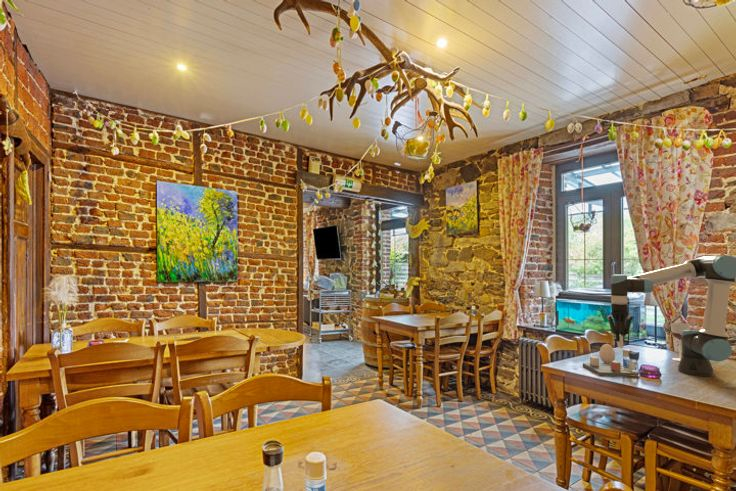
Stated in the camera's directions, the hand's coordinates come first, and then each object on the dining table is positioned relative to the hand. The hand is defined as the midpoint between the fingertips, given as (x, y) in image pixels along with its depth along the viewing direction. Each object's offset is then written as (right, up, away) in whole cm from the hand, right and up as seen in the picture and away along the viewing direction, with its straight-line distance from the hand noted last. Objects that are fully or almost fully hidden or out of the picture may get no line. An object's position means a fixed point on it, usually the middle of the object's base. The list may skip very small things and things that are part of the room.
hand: (620, 347), depth 213 cm
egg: (+6, -15, +21) cm, 26 cm away
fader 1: (-9, -12, +9) cm, 18 cm away
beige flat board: (-3, -14, +4) cm, 15 cm away
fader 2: (-3, -12, 0) cm, 12 cm away
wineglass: (+57, -16, +31) cm, 67 cm away
